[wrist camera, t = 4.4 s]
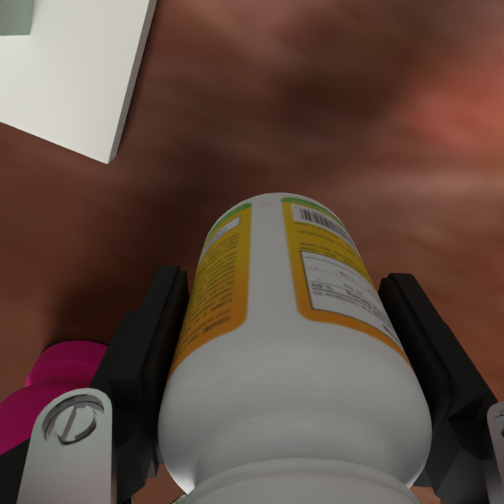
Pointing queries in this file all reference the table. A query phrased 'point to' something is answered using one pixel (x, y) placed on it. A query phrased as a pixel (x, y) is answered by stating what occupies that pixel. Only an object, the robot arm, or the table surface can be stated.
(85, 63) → the cup holder
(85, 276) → the table surface
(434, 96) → the table surface
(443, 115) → the table surface
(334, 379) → the supplement bottle
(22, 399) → the pepper mill
